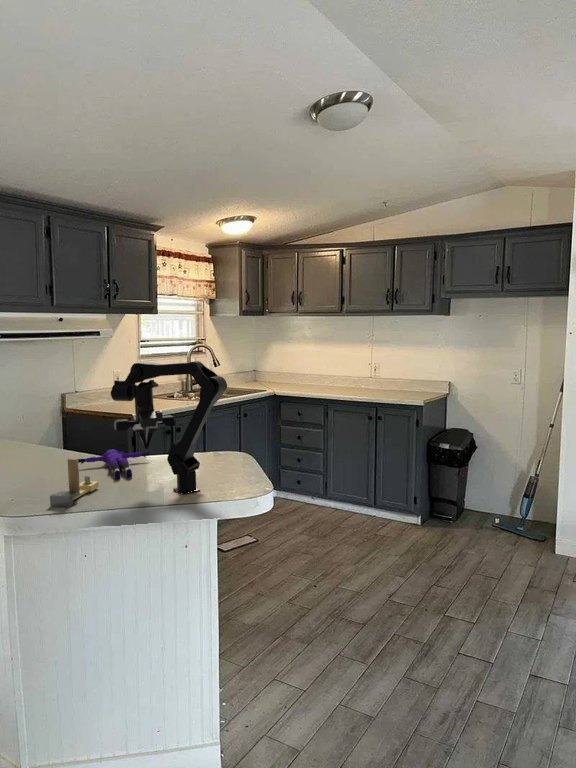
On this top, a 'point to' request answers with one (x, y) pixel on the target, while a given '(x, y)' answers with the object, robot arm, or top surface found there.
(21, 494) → the top surface
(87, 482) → the peg
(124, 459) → the toy
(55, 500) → the keeper
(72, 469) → the link
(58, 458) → the top surface
